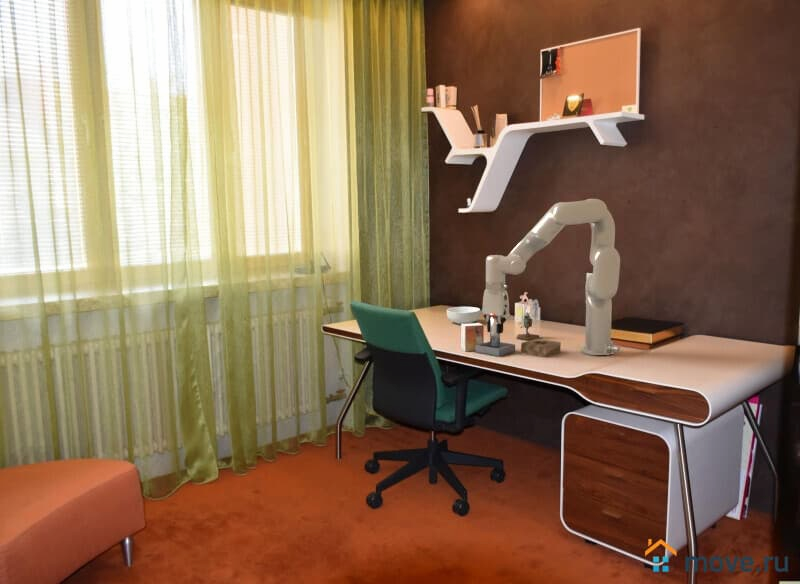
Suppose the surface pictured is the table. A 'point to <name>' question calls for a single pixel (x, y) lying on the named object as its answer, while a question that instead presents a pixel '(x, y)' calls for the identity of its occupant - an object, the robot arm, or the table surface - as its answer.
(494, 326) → the pin
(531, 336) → the bonsai tree
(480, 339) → the small box
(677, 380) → the table surface
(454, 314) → the cereal bowl
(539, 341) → the block
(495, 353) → the tray
